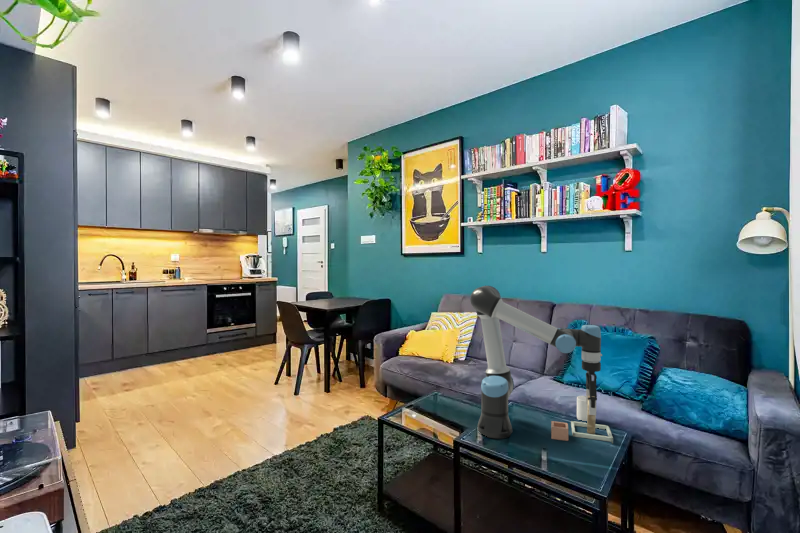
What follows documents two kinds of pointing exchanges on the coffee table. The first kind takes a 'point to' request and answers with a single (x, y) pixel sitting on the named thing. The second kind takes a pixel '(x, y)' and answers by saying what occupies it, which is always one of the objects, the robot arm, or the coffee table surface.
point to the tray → (591, 436)
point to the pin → (590, 421)
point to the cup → (582, 408)
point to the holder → (559, 430)
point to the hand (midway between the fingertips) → (591, 409)
